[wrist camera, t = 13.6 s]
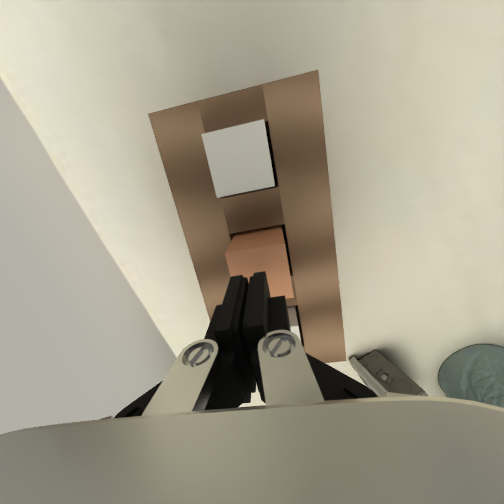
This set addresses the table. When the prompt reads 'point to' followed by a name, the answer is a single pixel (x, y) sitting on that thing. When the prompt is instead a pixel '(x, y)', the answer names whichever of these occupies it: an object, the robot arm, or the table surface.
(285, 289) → the terracotta peg
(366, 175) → the table surface
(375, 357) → the electrical switch
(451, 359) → the teal plant pot
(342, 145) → the table surface
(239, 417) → the robot arm
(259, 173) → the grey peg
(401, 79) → the table surface
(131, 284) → the table surface
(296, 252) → the socket board
